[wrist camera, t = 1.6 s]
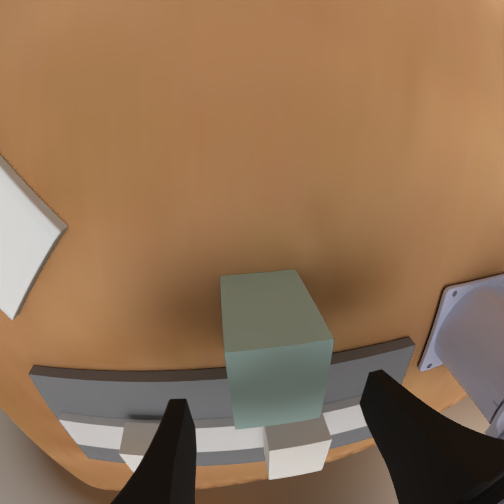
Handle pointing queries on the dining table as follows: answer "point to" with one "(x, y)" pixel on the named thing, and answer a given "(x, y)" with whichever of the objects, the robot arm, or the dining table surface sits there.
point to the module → (273, 349)
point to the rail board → (213, 411)
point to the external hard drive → (23, 238)
